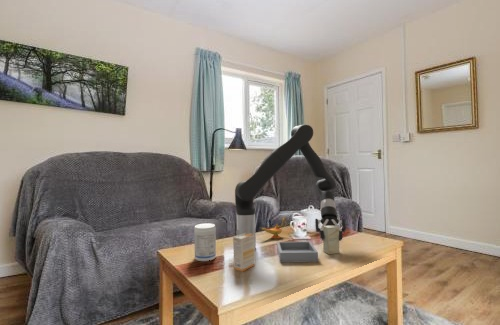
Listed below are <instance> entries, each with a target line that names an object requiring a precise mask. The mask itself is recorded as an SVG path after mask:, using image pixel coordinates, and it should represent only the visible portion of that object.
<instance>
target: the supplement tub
mask: <svg viewBox="0 0 500 325" xmlns="http://www.w3.org/2000/svg"><path fill="white" fill-rule="evenodd" d="M193 230H194V231H193V233H194V234H193V235H194V240H193V241H194V258H195V260H196V261H199V262H210V261H212V260H214V259H215V258H217V242H216V240H217V239H216V237H217V232H216V224H214V223H210V222H209V223H208V222H207V223H199V224H195V225H194V229H193ZM209 260H210V261H209Z"/></svg>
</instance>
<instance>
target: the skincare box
mask: <svg viewBox="0 0 500 325" xmlns="http://www.w3.org/2000/svg"><path fill="white" fill-rule="evenodd" d="M339 227H340V226H339ZM339 227H338V226H335V225H328V226H323V235H324V240H322V242H323V244H322V246H323V248H322V249H323V252H324V253H326V254H328V255H332V254H340V252H341V251H340V241H339Z"/></svg>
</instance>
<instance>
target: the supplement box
mask: <svg viewBox="0 0 500 325" xmlns="http://www.w3.org/2000/svg"><path fill="white" fill-rule="evenodd" d="M232 243H233V248H232V249H233V269H234V270H236V271H240V272H244V271H246V270H248V269H250V268H251V267H255V265H256V260H255V259H256V257H255V256H256V255H255V254H256V253H255V252H256V251H255V250H256V249H254V234H251V233H243V234H240V235H237V234H236V235H235V236H232Z"/></svg>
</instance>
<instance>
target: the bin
mask: <svg viewBox="0 0 500 325" xmlns="http://www.w3.org/2000/svg"><path fill="white" fill-rule="evenodd" d="M276 250H277V254H278V255H277V256H278V258H279V263H317V262H319V252H318V251H317V249H316V248H315V246H314V244H313V243H312V241H310V240H309V241H307V240H306V241H301V240H300V241H277V242H276Z"/></svg>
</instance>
